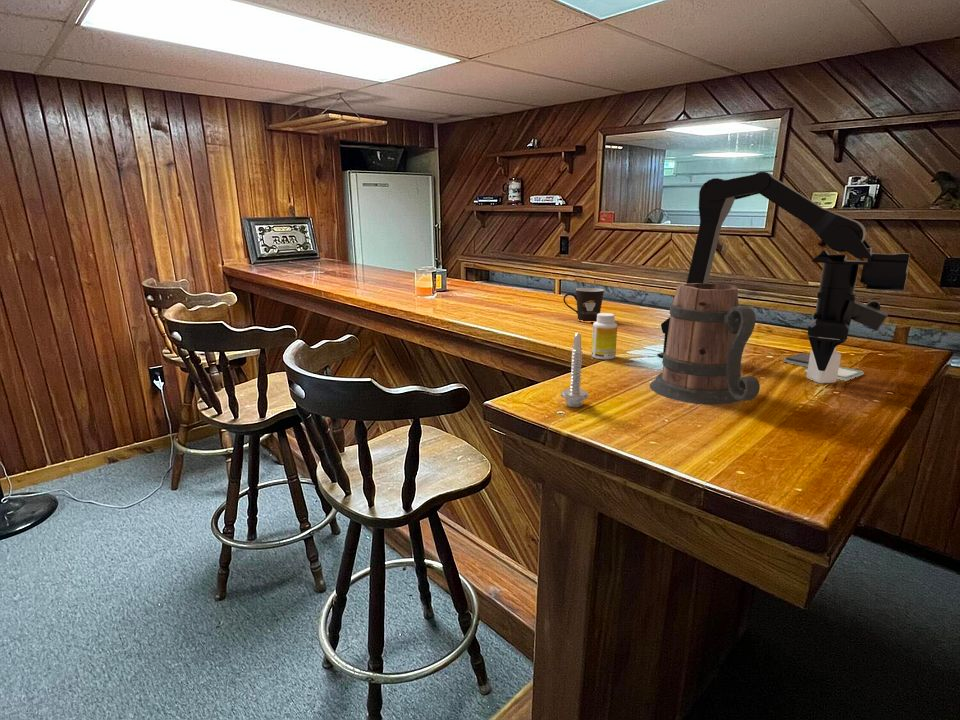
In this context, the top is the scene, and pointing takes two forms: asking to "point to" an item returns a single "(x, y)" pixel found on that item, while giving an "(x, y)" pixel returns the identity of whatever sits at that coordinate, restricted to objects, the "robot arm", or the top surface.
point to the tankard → (706, 347)
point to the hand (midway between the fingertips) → (823, 365)
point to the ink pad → (798, 359)
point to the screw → (575, 377)
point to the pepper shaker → (829, 373)
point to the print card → (846, 373)
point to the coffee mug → (587, 303)
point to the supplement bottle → (604, 336)
